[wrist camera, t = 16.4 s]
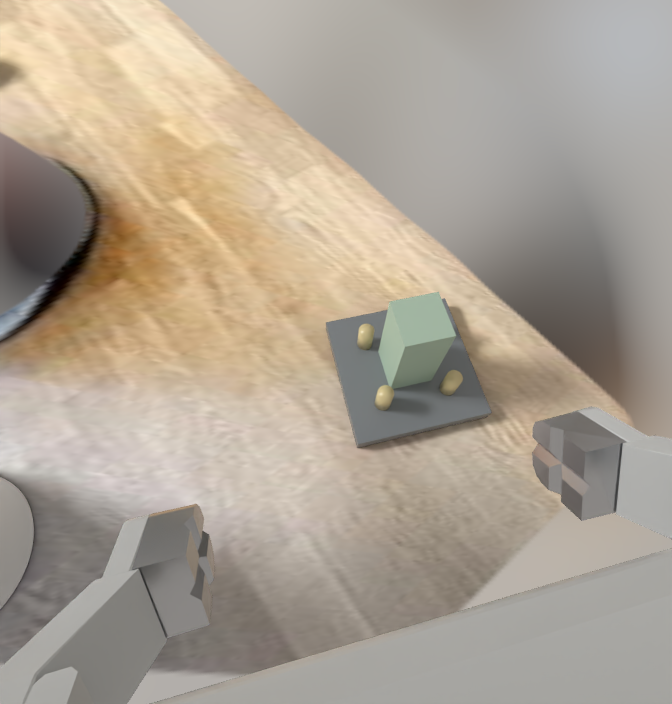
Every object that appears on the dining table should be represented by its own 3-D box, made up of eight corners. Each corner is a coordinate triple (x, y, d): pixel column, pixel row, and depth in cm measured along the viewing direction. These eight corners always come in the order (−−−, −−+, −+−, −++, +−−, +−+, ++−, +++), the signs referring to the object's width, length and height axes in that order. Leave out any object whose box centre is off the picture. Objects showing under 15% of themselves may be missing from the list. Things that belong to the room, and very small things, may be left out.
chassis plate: (357, 447, 44) (359, 436, 40) (326, 329, 50) (325, 308, 46) (486, 416, 46) (502, 402, 41) (441, 305, 51) (451, 283, 47)
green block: (390, 389, 45) (405, 346, 36) (378, 351, 47) (389, 301, 38) (431, 380, 46) (456, 335, 37) (418, 343, 47) (438, 291, 38)
